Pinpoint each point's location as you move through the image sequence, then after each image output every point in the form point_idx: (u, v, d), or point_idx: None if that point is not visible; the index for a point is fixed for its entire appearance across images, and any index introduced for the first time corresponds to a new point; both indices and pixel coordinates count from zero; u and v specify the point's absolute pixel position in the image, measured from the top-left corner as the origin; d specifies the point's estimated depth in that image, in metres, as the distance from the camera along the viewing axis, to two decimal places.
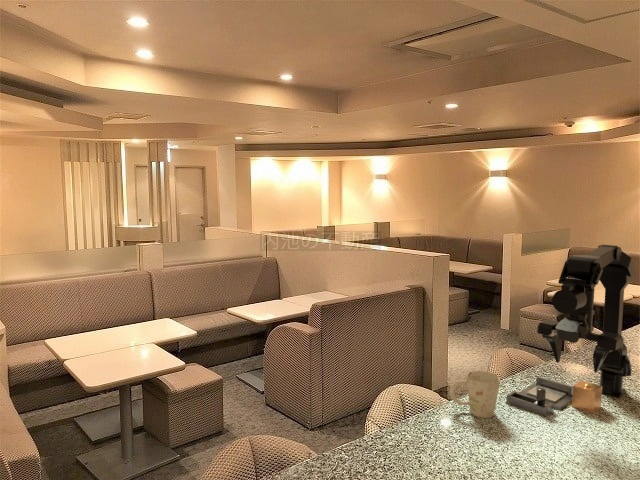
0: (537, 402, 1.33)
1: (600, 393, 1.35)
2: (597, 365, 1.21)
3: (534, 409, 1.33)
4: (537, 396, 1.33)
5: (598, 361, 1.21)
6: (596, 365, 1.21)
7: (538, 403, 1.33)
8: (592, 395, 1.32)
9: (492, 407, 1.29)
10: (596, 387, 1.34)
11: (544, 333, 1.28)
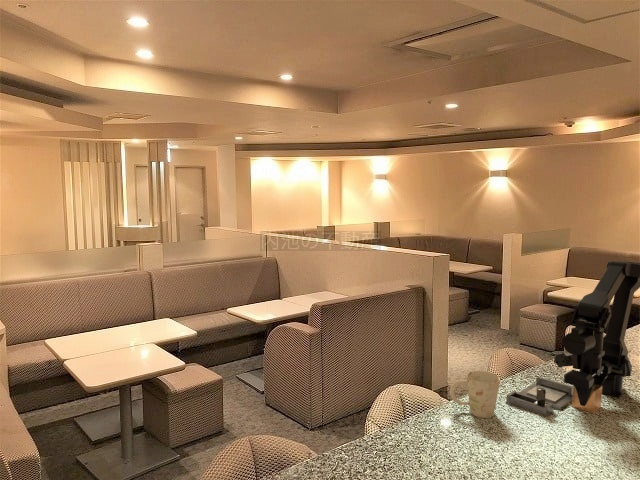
0: (537, 402, 1.33)
1: (600, 393, 1.35)
2: None
3: (534, 409, 1.33)
4: (537, 396, 1.33)
5: None
6: None
7: (538, 403, 1.33)
8: (592, 394, 1.32)
9: (492, 407, 1.29)
10: (596, 387, 1.34)
11: None
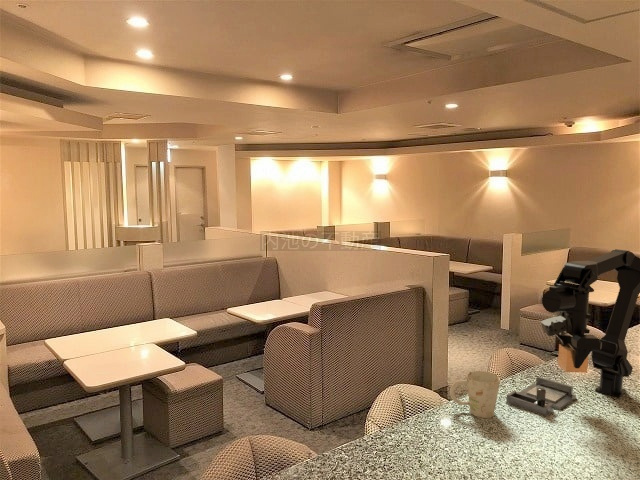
0: (537, 402, 1.33)
1: None
2: (574, 361, 1.33)
3: (534, 409, 1.33)
4: (537, 396, 1.33)
5: (574, 357, 1.33)
6: (574, 360, 1.34)
7: (538, 403, 1.33)
8: None
9: (492, 407, 1.29)
10: None
11: None
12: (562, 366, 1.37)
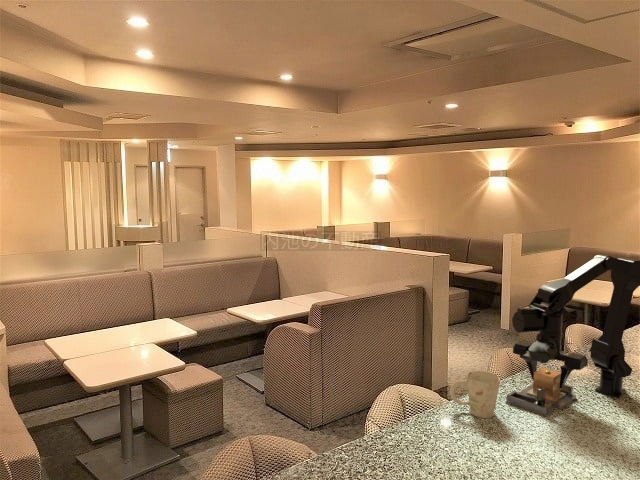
0: (537, 402, 1.33)
1: None
2: (562, 381, 1.38)
3: (534, 409, 1.33)
4: (537, 396, 1.33)
5: (563, 378, 1.37)
6: (561, 381, 1.38)
7: (538, 403, 1.33)
8: (560, 376, 1.41)
9: (492, 407, 1.29)
10: (548, 370, 1.43)
11: (519, 353, 1.44)
12: None
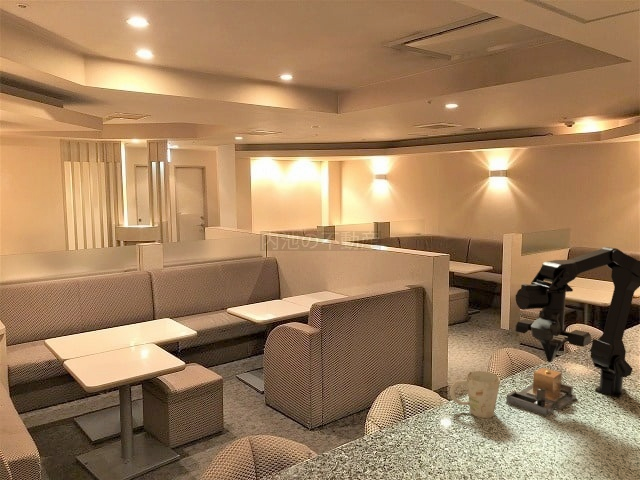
0: (537, 402, 1.33)
1: None
2: (551, 355, 1.38)
3: (534, 409, 1.33)
4: (537, 396, 1.33)
5: (552, 352, 1.38)
6: (550, 355, 1.38)
7: (538, 403, 1.33)
8: (560, 376, 1.41)
9: (492, 407, 1.29)
10: (548, 370, 1.43)
11: (521, 331, 1.42)
12: None
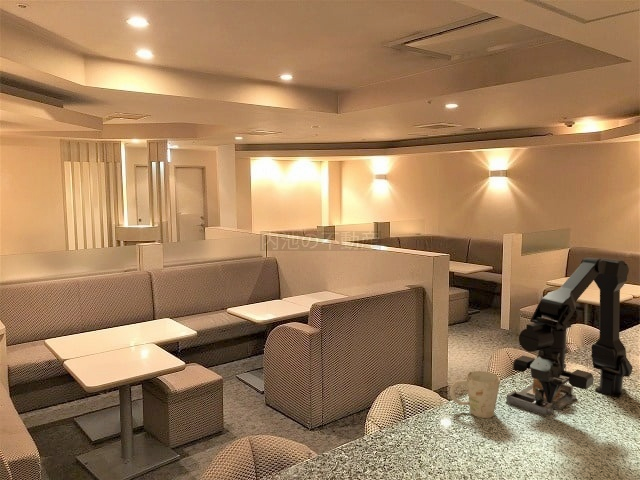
0: (535, 402, 1.33)
1: None
2: (551, 396, 1.30)
3: (534, 409, 1.33)
4: (535, 396, 1.33)
5: (552, 393, 1.30)
6: (550, 396, 1.30)
7: (536, 403, 1.33)
8: None
9: (492, 407, 1.29)
10: None
11: (519, 370, 1.34)
12: None
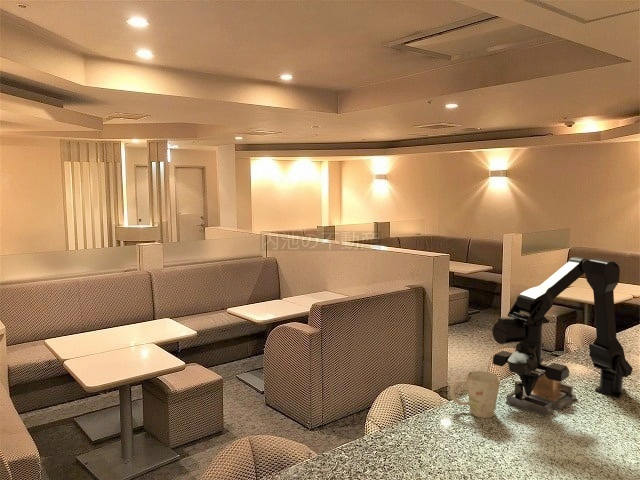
0: (515, 395, 1.37)
1: None
2: (529, 389, 1.34)
3: (534, 409, 1.33)
4: (515, 389, 1.37)
5: (530, 386, 1.34)
6: (528, 389, 1.35)
7: (516, 396, 1.37)
8: None
9: (492, 407, 1.29)
10: None
11: (499, 364, 1.38)
12: (543, 393, 1.40)
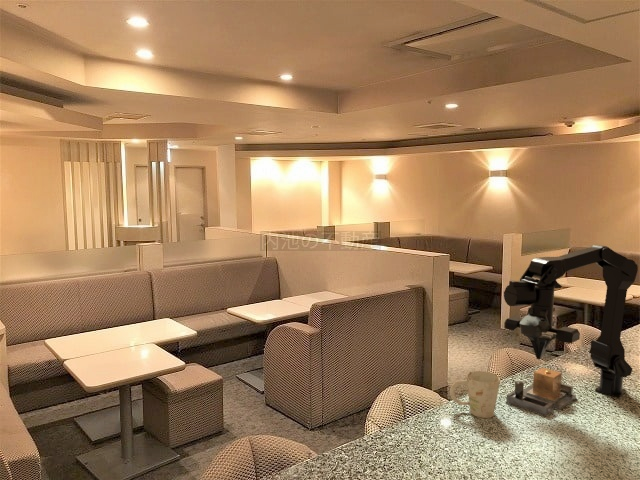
0: (515, 395, 1.37)
1: None
2: (540, 352, 1.37)
3: (534, 409, 1.33)
4: (515, 389, 1.37)
5: (541, 349, 1.37)
6: (539, 352, 1.38)
7: (516, 396, 1.37)
8: (560, 376, 1.41)
9: (492, 407, 1.29)
10: (548, 370, 1.43)
11: (510, 328, 1.41)
12: (543, 393, 1.40)
